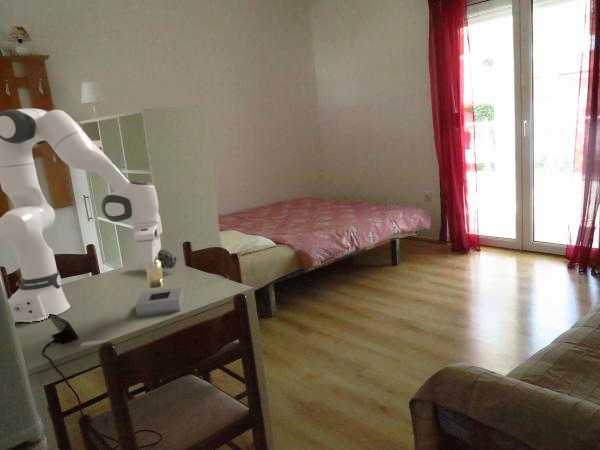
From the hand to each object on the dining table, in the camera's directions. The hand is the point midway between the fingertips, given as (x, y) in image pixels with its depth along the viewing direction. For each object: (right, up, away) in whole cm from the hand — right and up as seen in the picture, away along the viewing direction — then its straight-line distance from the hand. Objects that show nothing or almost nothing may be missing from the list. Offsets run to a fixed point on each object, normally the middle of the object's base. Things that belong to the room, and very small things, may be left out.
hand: (153, 269), depth 159 cm
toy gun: (-13, -5, +50) cm, 52 cm away
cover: (0, -5, +1) cm, 6 cm away
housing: (+2, -14, +3) cm, 15 cm away
